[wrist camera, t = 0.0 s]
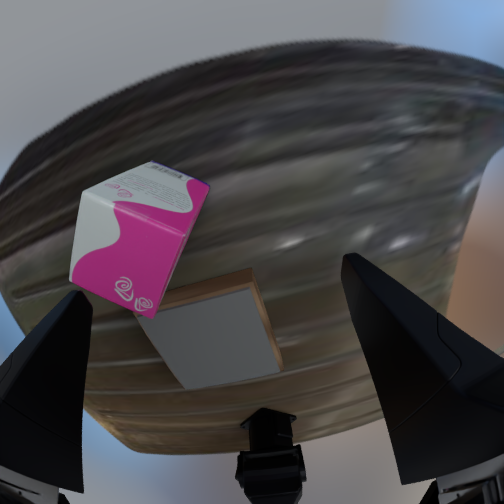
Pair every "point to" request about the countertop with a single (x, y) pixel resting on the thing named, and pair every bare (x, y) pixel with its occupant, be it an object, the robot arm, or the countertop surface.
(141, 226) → the supplement box
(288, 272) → the countertop surface
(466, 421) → the robot arm
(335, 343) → the countertop surface
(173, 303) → the walnut base
